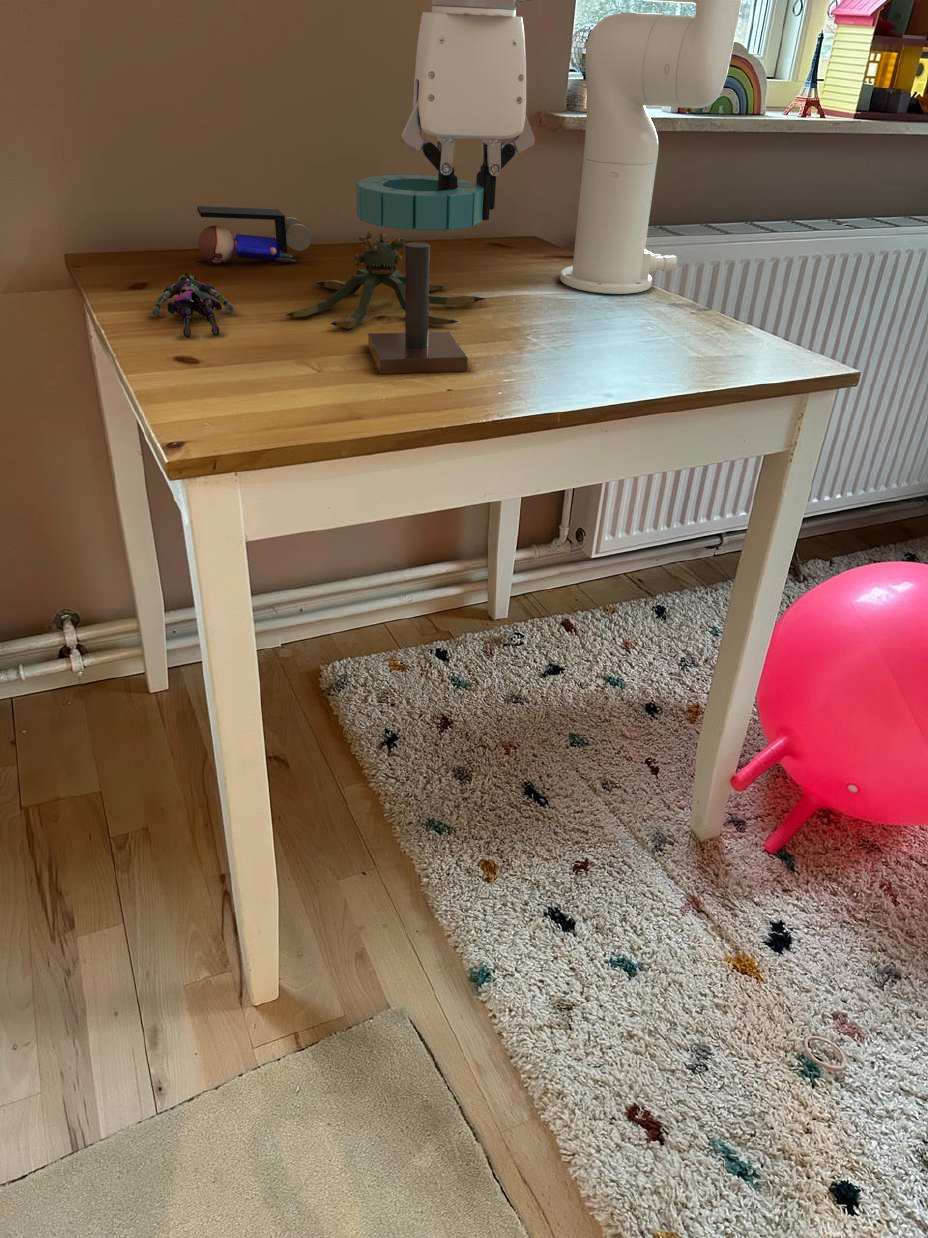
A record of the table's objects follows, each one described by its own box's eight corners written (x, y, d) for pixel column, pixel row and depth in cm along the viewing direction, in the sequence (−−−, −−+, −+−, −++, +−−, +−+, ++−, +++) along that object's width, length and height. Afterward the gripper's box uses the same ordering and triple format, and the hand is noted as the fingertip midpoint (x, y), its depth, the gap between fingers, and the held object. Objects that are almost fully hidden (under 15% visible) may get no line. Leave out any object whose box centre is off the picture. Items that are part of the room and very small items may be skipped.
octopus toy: (285, 332, 107) (280, 249, 102) (283, 286, 124) (279, 213, 119) (503, 330, 111) (508, 251, 106) (473, 286, 127) (476, 216, 123)
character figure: (245, 337, 106) (226, 294, 118) (242, 303, 104) (223, 263, 116) (158, 342, 103) (147, 297, 115) (153, 308, 101) (143, 265, 113)
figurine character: (301, 264, 140) (195, 255, 135) (304, 209, 136) (195, 198, 131) (310, 275, 135) (200, 266, 129) (313, 218, 131) (201, 207, 125)
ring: (465, 206, 99) (467, 175, 98) (493, 230, 90) (495, 195, 88) (350, 206, 97) (350, 174, 95) (366, 230, 87) (366, 194, 85)
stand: (449, 344, 105) (452, 235, 99) (467, 371, 98) (472, 254, 92) (368, 347, 104) (366, 235, 97) (380, 374, 96) (379, 255, 90)
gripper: (549, -1, 89) (533, 210, 99) (377, -10, 86) (378, 210, 96) (574, 0, 83) (555, 225, 93) (390, -10, 79) (390, 225, 89)
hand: (465, 215), depth 94 cm, fingers closed on ring, 2 cm apart
